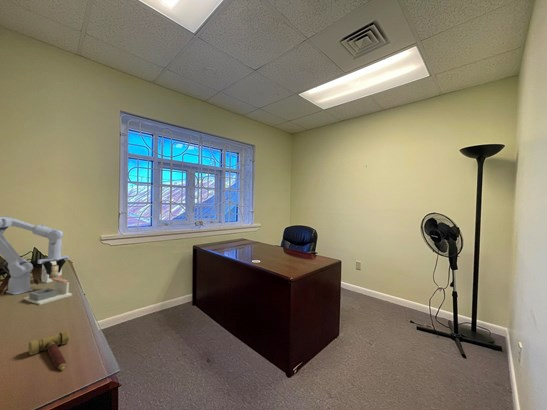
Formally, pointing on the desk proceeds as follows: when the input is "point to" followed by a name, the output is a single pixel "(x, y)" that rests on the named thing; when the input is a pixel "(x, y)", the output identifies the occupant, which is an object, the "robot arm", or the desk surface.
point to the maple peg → (54, 271)
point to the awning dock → (50, 292)
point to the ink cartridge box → (46, 277)
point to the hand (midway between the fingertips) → (53, 273)
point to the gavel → (51, 347)
